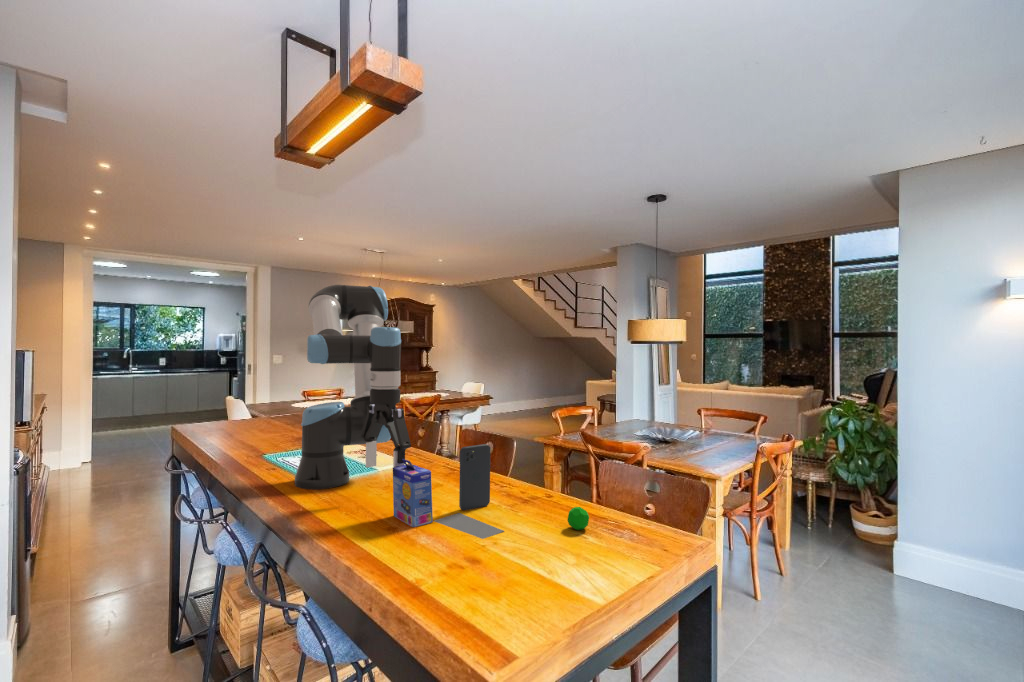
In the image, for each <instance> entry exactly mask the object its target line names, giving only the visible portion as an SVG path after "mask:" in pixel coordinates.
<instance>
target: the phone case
mask: <svg viewBox="0 0 1024 682" xmlns="http://www.w3.org/2000/svg"><path fill="white" fill-rule="evenodd" d="M458 492H459V493H458V494H459V495H458V496H459V501H458V502H459V505H458V506H459V509H460V510H462V511H463V512H464V511H469V510H474V509H479V508H485V507H487V506H489V504H490V502H491V446H490V445H489V444H487V443H484V444H483V443H482V444H477V445H476V444H475V445H469V446H468V445H467V446H462V448H461V449H460V450H459V491H458Z"/></svg>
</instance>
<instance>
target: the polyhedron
mask: <svg viewBox="0 0 1024 682" xmlns="http://www.w3.org/2000/svg"><path fill="white" fill-rule="evenodd" d="M589 521H590V516H589V513H588V511H587V510H586V509H584V508H582V507H581V506H575V507H573V508H571V509H570V510H569V511H568V516H567V522H568V525H569V526H570V527H571V528H573V529H574V530H576V531H582V530H585V529H586V528H587V527H588V526H589Z"/></svg>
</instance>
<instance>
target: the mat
mask: <svg viewBox="0 0 1024 682" xmlns="http://www.w3.org/2000/svg"><path fill="white" fill-rule="evenodd" d="M433 522H435V523H438V524H440V525H444V526H446V527H447V528H452V529H455V530H457V531H460V532H463V533H466V534H468V535H471V536H473V537H476V538H479V539H481V540H485V539H486V538H489V537H493V536H495V535H498V534H499V535H500V534H502V533H505V530H503V529H500V528H498V527H496V526H493V525H491V524H489V523H488V524H487V523H485V522H484V521H483V522H482V521H480V520H478V519H476V518H473V517H471V516H468V515H466V514H462V513H460V512H458V513H457V512H456V513H454V514H450V515H447V516H445V517H441V518H438V519H435V520H433Z"/></svg>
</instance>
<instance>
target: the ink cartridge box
mask: <svg viewBox="0 0 1024 682" xmlns="http://www.w3.org/2000/svg"><path fill="white" fill-rule="evenodd" d="M402 460H403V462H404V464H405V465H402V466H396V467H393V466H392V489H393V490H392V493H393V494H392V495H393V496H392V497H393V499H392V501H393V503H392V504H393V517H395V518H396V519H398V520H400V521H401V522H403V523H405V524H407V525H408V526H410V527H412V528H417V527H420V526H424V525H427V524H431V523H433V522H434V520H433V519H434V518H433V517H434V516H433V495H432V494H433V492H432V491H433V490H432V487H433V486H432V471H431V470H430V469H427V468H424V467H420V466H419V465H416V464H413V463H412V461H410V460H407V459H406V458H405V459H402Z"/></svg>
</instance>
